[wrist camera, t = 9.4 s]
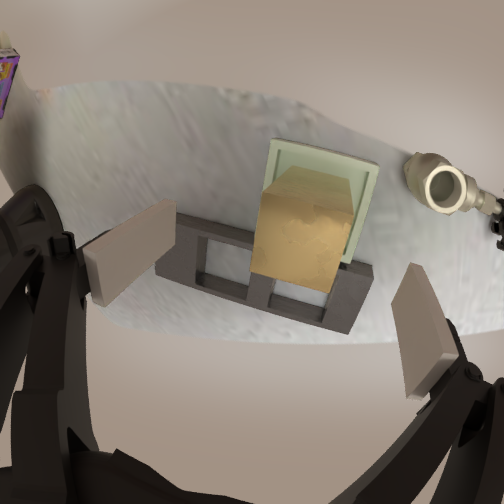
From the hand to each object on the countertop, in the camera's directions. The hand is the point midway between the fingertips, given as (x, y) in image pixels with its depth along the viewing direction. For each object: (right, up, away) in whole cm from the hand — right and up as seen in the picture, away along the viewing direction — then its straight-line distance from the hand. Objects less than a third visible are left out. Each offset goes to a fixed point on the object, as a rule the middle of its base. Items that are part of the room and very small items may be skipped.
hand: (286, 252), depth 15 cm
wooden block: (+4, +5, +9) cm, 11 cm away
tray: (+4, +5, +10) cm, 12 cm away
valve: (+17, +6, +5) cm, 19 cm away
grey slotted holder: (-1, -1, +15) cm, 15 cm away
